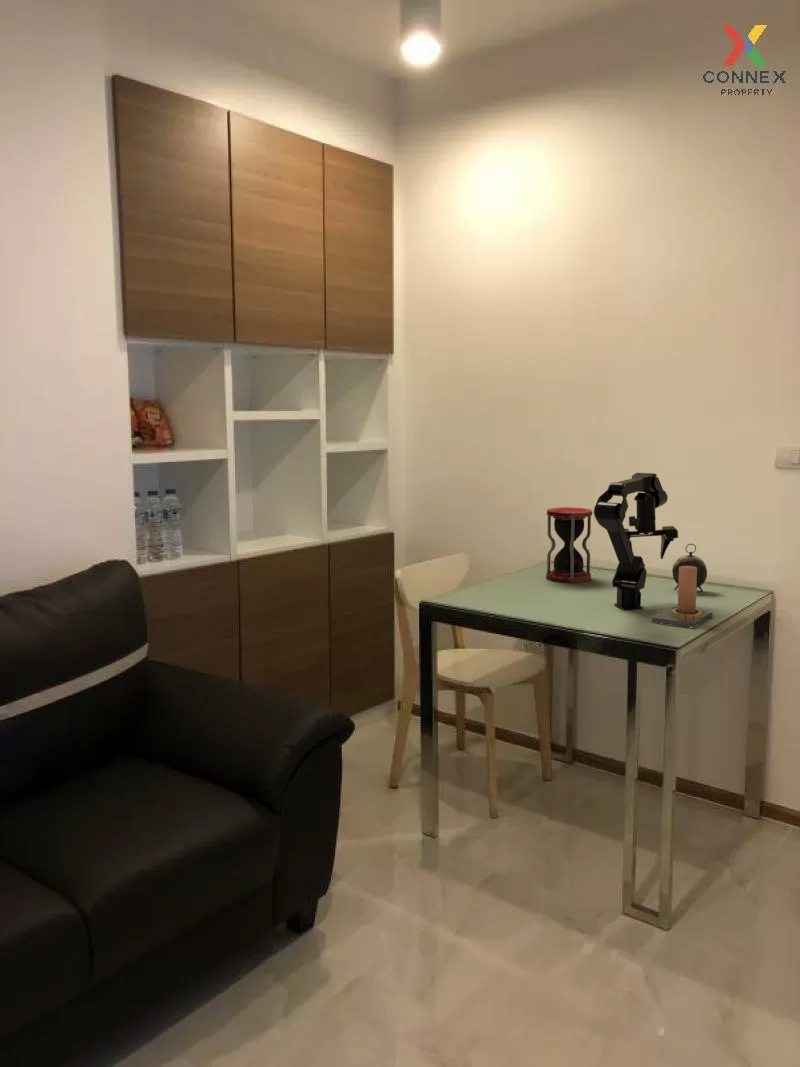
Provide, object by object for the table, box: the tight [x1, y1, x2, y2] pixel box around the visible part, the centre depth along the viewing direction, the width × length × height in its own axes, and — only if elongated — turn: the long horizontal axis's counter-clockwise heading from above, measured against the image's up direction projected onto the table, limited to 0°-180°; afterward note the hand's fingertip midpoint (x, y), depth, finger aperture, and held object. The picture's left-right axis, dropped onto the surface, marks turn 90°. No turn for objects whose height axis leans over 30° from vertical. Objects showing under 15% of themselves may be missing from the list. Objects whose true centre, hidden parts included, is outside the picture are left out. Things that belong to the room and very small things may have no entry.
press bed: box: [651, 606, 713, 629], centre depth 259 cm, size 16×12×2 cm
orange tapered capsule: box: [677, 566, 697, 614], centre depth 258 cm, size 5×5×14 cm
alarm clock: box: [671, 543, 708, 592], centre depth 294 cm, size 11×5×16 cm, turn 74°
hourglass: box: [545, 506, 593, 583], centre depth 317 cm, size 16×16×25 cm
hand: (646, 559), depth 283 cm, fingers open, 9 cm apart
